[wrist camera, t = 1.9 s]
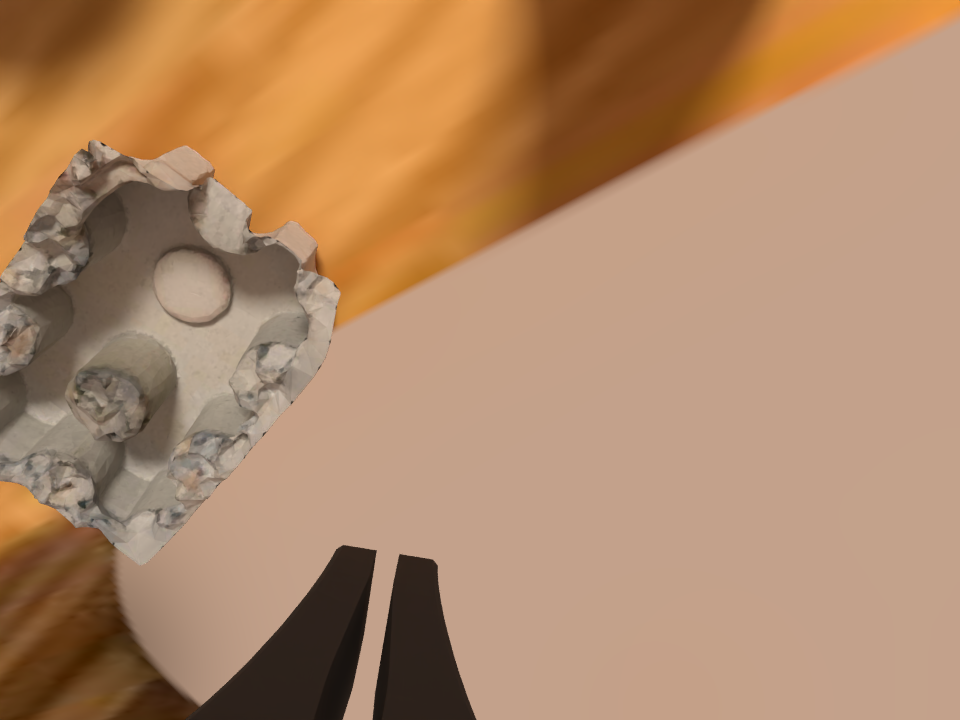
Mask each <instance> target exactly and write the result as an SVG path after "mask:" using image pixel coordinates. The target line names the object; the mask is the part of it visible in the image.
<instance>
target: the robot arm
mask: <svg viewBox="0 0 960 720" xmlns="http://www.w3.org/2000/svg"><path fill="white" fill-rule="evenodd" d="M375 557H376V550H370V549H364V548H358V547H351V546H346V545H343V546H341V547H339V548H338V549H336V551H335V553H334V555H333V557H332V558H331V560H330V562H329V563H328V565H327V566H326V568H325V570H324V571H323V573H322V574H321V576H320V577H319V578H318V580H317V581H316V583H315V584H314V585H313V587H312V588H311V589H310V591H309V592H308V593H307V595H306V596H305V597H304V599H303V600H302V601H301V602H300V604H299V605H298V606H297V607H296V608H295V610H294V611H293V612H292V613H291V615H290V616H289V617H288V618H287V620H286V621H285V622H284V623H283V625H282V626H281V627H280V628H279V629H278V630H277V631H276V632H275V633H274V635H273V636H272V637H271V638H270V639H269V640H268V641H267V642H266V643H265V644H264V645H263V646H262V648H261V649H260V650H259V651H258V652H257V653H256V654H255V655H254V656H253V657H252V659H250V661H249V662H248V663H247V664H246V665H245V666H244V667H243V668H242V669H241V670H240V671H239V672H238V673H237V674H236V675H234V676H233V677H232V678H231V679H230V680H229V681H228V682H227V683H226V684H225V685H224V686H223V687H222V688H221V689H220V690H219V691H217V692H216V693H215V694H214V695H213V696H212V697H211V698H210V699H209V700H208V701H206V702H205V703H204V704H203V705H202V706H201V707H199V708H198V709H197V710H196V711H195V712H193V713H192V714H191V715H190V716H189V717H188V718H186V719H185V720H342V719H343V716H344V713H345V710H346V707H347V704H348V701H349V698H350V694H351V691H352V688H353V683H354V679H355V674H356V669H357V665H358V660H359V655H360V651H361V646H362V641H363V636H364V631H365V624H366V617H367V611H368V604H369V597H370V591H371V584H372V578H373V571H374V564H375ZM437 572H438V566H437V564H436V563H435V562H434V561H433V560H431V559H425V558H420V557H414V556H407V555H401V554H400V555H399V559H398V564H397V569H396V574H395V578H394V583H393V590H392V596H391V601H390V608H389V614H388V619H387V625H386V631H385V637H384V643H383V649H382V655H381V661H380V667H379V673H378V679H377V686H376V691H375V700H374V711H373V720H476V718H475V715H474V713H473V710H472V708H471V705H470V702H469V700H468V697H467V694H466V691H465V688H464V685H463V683H462V680H461V677H460V674H459V671H458V668H457V664H456V661H455V658H454V655H453V651H452V647H451V643H450V640H449V636H448V632H447V628H446V624H445V620H444V616H443V610H442V605H441V599H440V593H439V585H438V573H437Z"/></svg>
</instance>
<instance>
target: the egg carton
mask: <svg viewBox="0 0 960 720" xmlns="http://www.w3.org/2000/svg"><path fill="white" fill-rule="evenodd" d="M214 172H215V169H214V168H213V166H212V165H211V163H210V162H209V161H207V160H206V159H204V158H203V157H202V156H201V155H200V154H198V153H197V152H196V151H195V150H193V149H191V148H189V147H188V146H182V147H179V148H176V149H174V150H172V151H170V152H167V153H165V154H163V155H162V156H160V157H158V158H156V159H154V160H141V159H138V158H135V157H128V156H124V155H122V154H121V153H119V152H117V151H115V150H114V149H112V148H110V147H108V146H107V145H105V144H103V143H101V142H99V141H96V140H92V141H89V144H88V151H85V150H83V149H81V150H80V151H78V152H77V153H76V154H75V155H74V157H73V159H72V161H71V162H70V164H69V166H68V168H67V169H66V170H65V171H64V172H63V173H62V174H61V175H60V176H59V178H58V179H57V180H56V182H55V184H54V186H53V187H52V188H51V190H50V193H49V195H48V197H47V199H46V200H45V201H44V203H43V204H42V205H41V206H40V208H39V209H38V211H37V212H36V214H35V216H34V218H33V220H32V221H31V223H30V225H29V228H28V230H27V232H26V233H25V235H24V240H25V242H24V243H23V245H22V246H21V248H20V250H19V251H18V252H17V254H16V255H15V257H14V258H13V259H12V261H11V262H10V263H9V265H8V266H7V268H6V269H5V270H4V272H3V273H2V275H1V276H0V281H1V282H0V481H5V482H14V483H18V484H20V485H23V486H25V487H27V488H28V489H29V491H30V492H31V493H32V494H33V495H34V498H35V499H38V501H39V503H41V504H44V505H48V506H50V507H52V508H55V509H57V510H58V511H59V512H60V513H61V514H62V515H63V516H64V517H66V518H67V519H68V520H69V521H70V522H71V523H72V524H73V525H74V526H75V528H79V527H92V528H98V529H100V530H101V531H102V532H103V534H104V535H105V536H106V537H107V539H108V540H109V541H110V542H111V543H112V544H113V545H114V546H115V547H116V548H117V549H118V550H120V551H121V552H122V553H124V554H125V555H126V556H128V557H129V558H131V559H132V560H133V561H135V562H136V563H137V564H138V565H142V564H145V563H147V562H148V561H149V560H150V559H151V558H152V557H153V556H154V555H155V554H156V553H157V552H158V551H159V550H160V549H161V548H162V547H163V546H164V545H165V544H166V543H167V542H168V541H169V540H170V539H171V538H172V537H173V536H174V535H175V534H176V533H177V532H178V530H180V529H181V528H182V526H183V525H184V524H185V523H186V522H187V521H188V520H189V518H190V517H191V516H192V514H193V513H194V512H195V511H196V510H197V508H198V507H199V506H200V505H201V504H202V503H203V502H204V501H205V499H208V497H210V495H211V494H212V493H213V491H214V490H215V489H216V487H217V486H218V485H219V484H220V483H221V482H222V481H223V480H225V479H226V478H227V477H228V476H229V475H230V474H231V473H232V472H233V471H234V470H235V468H236V467H237V466H238V465H239V463H241V461H242V460H243V459H244V458H245V456H246V455H247V454H248V452H249V451H250V450H251V448H252V447H253V446H254V445H255V444H256V443H257V442H258V441H259V440H260V439H261V438H262V437H263V436H264V434H265V433H266V432H267V431H268V430H269V429H270V427H271V426H272V425H273V424H274V422H275V421H276V420H277V419H278V417H279V416H280V415H281V414H282V413H283V412H284V411H285V410H286V409H287V408H288V407H289V406H290V405H291V404H292V403H293V402H294V400H295V399H296V398H297V397H298V395H299V394H300V393H301V392H302V391H303V390H304V388H305V387H306V386H307V384H308V383H309V382H310V381H311V380H312V379H313V377H314V376H315V374H316V373H317V371H318V370H319V368H320V366H321V365H322V363H323V362H324V360H325V358H326V355H327V352H328V348H329V345H330V342H331V336H332V331H333V325H334V319H335V313H336V308H337V304H338V300H339V297H340V294H341V292H340V291H339V289H338V288H337V287H336V285H335V284H334V283H333V282H332V281H331V280H329V279H328V278H326V277H323V276H321V275H318V273H317V271H316V268H315V256H316V251H317V247H318V244H317V242H316V241H315V239H314V238H313V237H311V236H310V235H309V234H308V233H307V232H305V230H304V229H303V228H302V227H301V226H300V225H299V224H298V223H297V222H294V221H289V222H287V223H286V224H285V225H284V226H282V227H281V228H279V229H277V230H275V231H273V232H270V233H265V234H256V233H253V232H251V231H250V230H249V225H250V220H251V215H252V210H251V209H250V208H248V207H247V206H246V205H245V203H243V202H242V201H241V200H239V199H238V198H237V197H236V196H235V195H233V194H232V193H231V192H230V191H229V190H228V189H226V188H225V187H224V186H223V185H221V184H220V183H219V182H218V181H216V180H215V179H213V177H214Z"/></svg>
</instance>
